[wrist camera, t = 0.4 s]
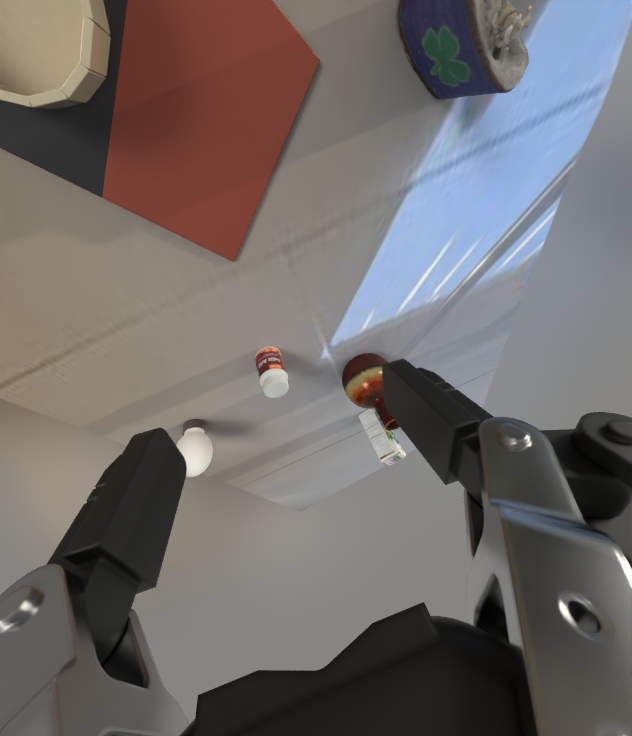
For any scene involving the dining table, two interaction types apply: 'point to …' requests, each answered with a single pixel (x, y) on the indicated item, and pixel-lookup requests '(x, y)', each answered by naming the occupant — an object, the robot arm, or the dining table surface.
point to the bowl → (52, 51)
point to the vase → (367, 386)
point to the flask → (464, 45)
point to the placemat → (178, 115)
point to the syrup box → (381, 438)
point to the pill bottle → (272, 372)
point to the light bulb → (195, 447)
